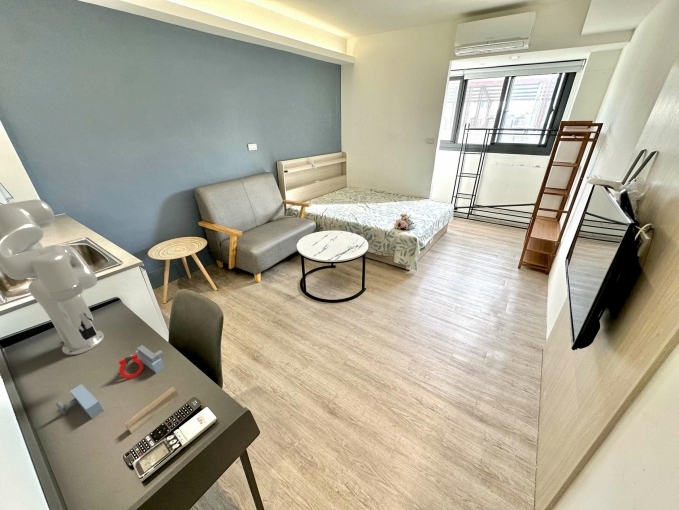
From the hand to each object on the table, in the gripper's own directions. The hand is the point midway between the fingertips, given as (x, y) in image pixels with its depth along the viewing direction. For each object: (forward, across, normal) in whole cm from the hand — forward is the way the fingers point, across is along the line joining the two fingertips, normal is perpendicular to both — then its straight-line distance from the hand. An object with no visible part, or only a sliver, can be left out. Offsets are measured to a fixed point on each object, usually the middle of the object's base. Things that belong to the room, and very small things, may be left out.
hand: (90, 336), depth 92 cm
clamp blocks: (+16, +11, 0) cm, 19 cm away
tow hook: (+18, +9, +5) cm, 21 cm away
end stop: (+16, +31, 0) cm, 35 cm away
